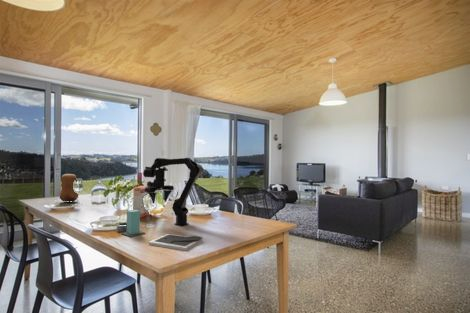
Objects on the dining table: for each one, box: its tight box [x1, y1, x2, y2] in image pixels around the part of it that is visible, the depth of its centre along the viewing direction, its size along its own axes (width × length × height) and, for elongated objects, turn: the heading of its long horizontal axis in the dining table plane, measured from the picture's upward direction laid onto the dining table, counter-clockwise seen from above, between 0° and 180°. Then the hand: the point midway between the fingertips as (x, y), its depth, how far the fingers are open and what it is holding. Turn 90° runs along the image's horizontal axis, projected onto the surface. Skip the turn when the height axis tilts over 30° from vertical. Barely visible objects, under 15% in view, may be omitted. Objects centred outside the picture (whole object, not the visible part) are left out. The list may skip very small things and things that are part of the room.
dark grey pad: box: [120, 230, 146, 238], centre depth 152 cm, size 9×9×1 cm
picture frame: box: [148, 233, 203, 252], centre depth 138 cm, size 16×3×21 cm
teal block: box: [126, 209, 141, 235], centre depth 152 cm, size 5×5×12 cm
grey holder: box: [116, 221, 127, 233], centre depth 161 cm, size 9×9×3 cm
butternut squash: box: [59, 173, 79, 202], centre depth 245 cm, size 14×13×25 cm
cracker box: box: [132, 185, 149, 219], centre depth 195 cm, size 14×6×21 cm, turn 168°
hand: (159, 202), depth 178 cm, fingers open, 9 cm apart
